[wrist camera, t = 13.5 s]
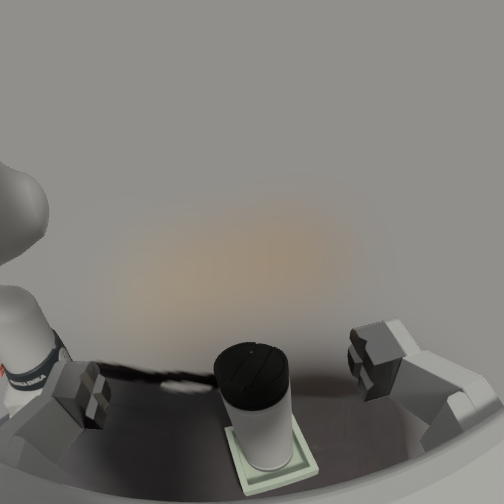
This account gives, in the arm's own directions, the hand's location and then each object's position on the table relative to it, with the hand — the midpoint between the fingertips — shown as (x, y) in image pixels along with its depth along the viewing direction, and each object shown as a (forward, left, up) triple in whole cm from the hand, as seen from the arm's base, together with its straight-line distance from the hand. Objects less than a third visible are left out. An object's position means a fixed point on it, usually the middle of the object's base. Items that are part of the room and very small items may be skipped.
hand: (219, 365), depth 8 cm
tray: (+2, +10, -32) cm, 34 cm away
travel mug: (+2, +10, -32) cm, 33 cm away
